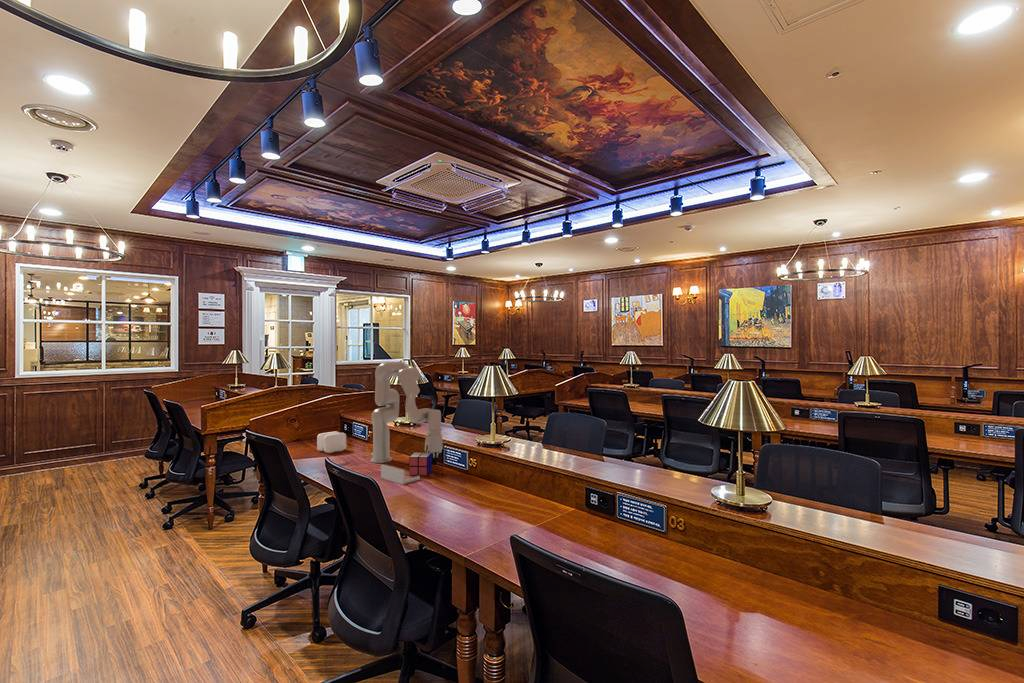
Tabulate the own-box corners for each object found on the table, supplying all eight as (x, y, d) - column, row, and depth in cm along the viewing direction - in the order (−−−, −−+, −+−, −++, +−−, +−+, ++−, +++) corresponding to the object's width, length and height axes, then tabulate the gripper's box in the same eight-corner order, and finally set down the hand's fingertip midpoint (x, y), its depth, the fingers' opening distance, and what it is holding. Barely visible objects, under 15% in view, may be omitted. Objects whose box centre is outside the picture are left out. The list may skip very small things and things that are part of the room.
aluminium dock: (381, 477, 245) (381, 464, 245) (398, 473, 254) (398, 460, 254) (402, 484, 234) (402, 470, 234) (419, 479, 242) (419, 466, 242)
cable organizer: (323, 454, 294) (324, 436, 294) (316, 451, 301) (316, 433, 301) (346, 450, 305) (346, 432, 305) (338, 447, 312) (338, 430, 312)
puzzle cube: (427, 476, 249) (427, 457, 249) (408, 475, 250) (409, 456, 249) (431, 470, 259) (431, 452, 259) (414, 470, 260) (414, 452, 259)
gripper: (439, 429, 270) (439, 460, 270) (419, 433, 258) (419, 466, 258) (448, 430, 265) (448, 462, 265) (428, 434, 254) (428, 468, 254)
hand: (434, 464), depth 262 cm, fingers closed
